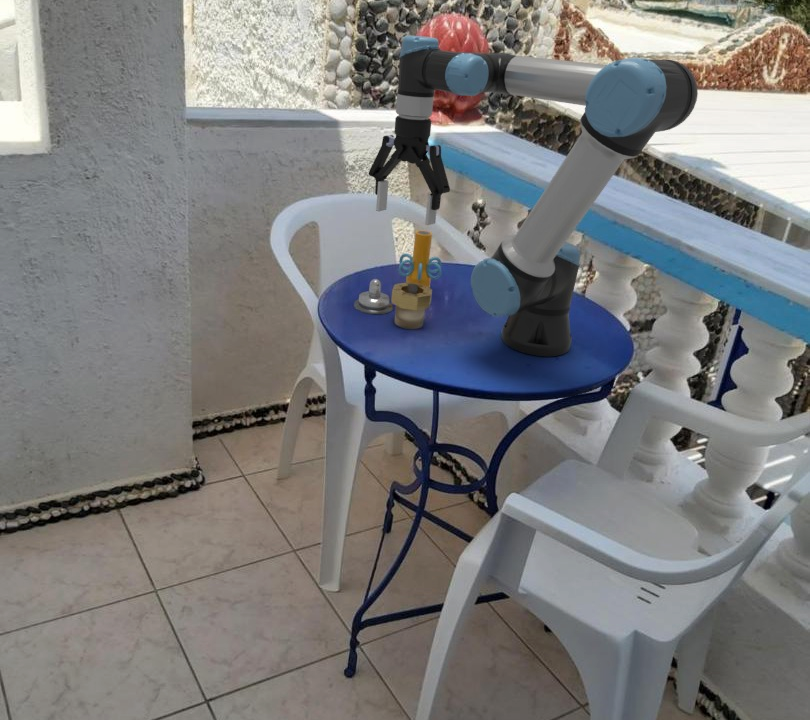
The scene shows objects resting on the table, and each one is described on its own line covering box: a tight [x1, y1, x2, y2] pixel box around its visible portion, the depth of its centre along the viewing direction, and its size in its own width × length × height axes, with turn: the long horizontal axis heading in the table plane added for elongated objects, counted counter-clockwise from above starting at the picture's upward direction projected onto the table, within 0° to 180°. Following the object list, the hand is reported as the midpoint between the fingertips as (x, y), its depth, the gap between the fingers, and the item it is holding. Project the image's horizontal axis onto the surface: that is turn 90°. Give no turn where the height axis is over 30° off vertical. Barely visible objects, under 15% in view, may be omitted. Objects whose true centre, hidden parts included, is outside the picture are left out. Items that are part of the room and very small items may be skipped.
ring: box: [390, 281, 433, 310], centre depth 169 cm, size 8×8×3 cm
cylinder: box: [398, 229, 442, 289], centre depth 187 cm, size 12×10×15 cm
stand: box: [394, 284, 426, 330], centre depth 170 cm, size 6×6×9 cm
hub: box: [353, 278, 394, 316], centre depth 177 cm, size 9×9×7 cm
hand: (405, 217), depth 168 cm, fingers open, 13 cm apart
